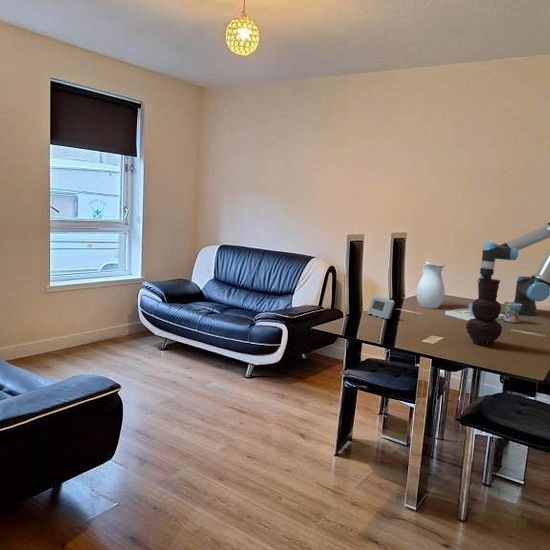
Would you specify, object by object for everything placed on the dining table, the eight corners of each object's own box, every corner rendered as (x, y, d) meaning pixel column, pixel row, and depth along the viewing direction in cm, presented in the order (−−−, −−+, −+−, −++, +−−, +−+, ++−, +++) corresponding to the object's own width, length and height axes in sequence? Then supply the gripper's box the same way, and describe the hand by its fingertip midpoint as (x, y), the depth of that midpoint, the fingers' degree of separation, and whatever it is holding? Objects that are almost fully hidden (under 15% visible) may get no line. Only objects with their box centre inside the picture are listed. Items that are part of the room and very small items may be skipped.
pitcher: (446, 310, 303) (451, 265, 299) (419, 308, 303) (423, 263, 299) (434, 302, 326) (439, 261, 323) (409, 301, 327) (413, 259, 323)
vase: (482, 349, 217) (490, 282, 213) (456, 339, 231) (464, 276, 227) (507, 347, 223) (516, 282, 219) (481, 338, 237) (488, 276, 233)
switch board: (476, 311, 306) (477, 306, 305) (506, 318, 289) (507, 313, 289) (445, 314, 289) (445, 309, 289) (474, 322, 273) (475, 317, 272)
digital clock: (365, 313, 277) (367, 295, 276) (378, 313, 281) (380, 295, 279) (382, 320, 262) (383, 301, 261) (396, 320, 266) (397, 300, 264)
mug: (517, 324, 273) (520, 306, 272) (500, 321, 279) (502, 303, 278) (522, 321, 283) (524, 303, 281) (505, 318, 288) (507, 300, 287)
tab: (472, 309, 299) (473, 301, 298) (479, 311, 295) (480, 303, 294) (468, 309, 297) (469, 301, 296) (475, 311, 293) (476, 303, 292)
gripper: (488, 267, 303) (483, 304, 306) (475, 267, 296) (470, 305, 299) (499, 268, 297) (494, 307, 300) (486, 269, 290) (481, 308, 293)
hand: (482, 306), depth 300 cm, fingers closed
